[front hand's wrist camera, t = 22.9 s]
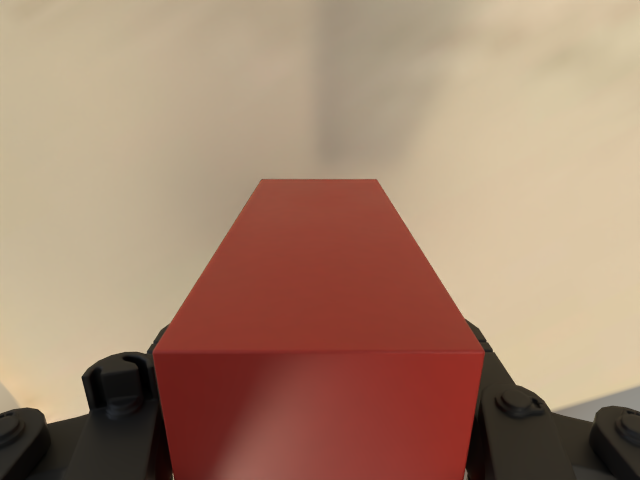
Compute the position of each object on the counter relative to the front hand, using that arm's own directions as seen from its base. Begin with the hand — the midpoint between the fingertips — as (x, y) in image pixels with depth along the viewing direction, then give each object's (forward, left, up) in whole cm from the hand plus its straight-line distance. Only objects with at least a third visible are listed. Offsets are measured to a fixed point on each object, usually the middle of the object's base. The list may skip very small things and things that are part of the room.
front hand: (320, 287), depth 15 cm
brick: (0, 0, -3) cm, 3 cm away
